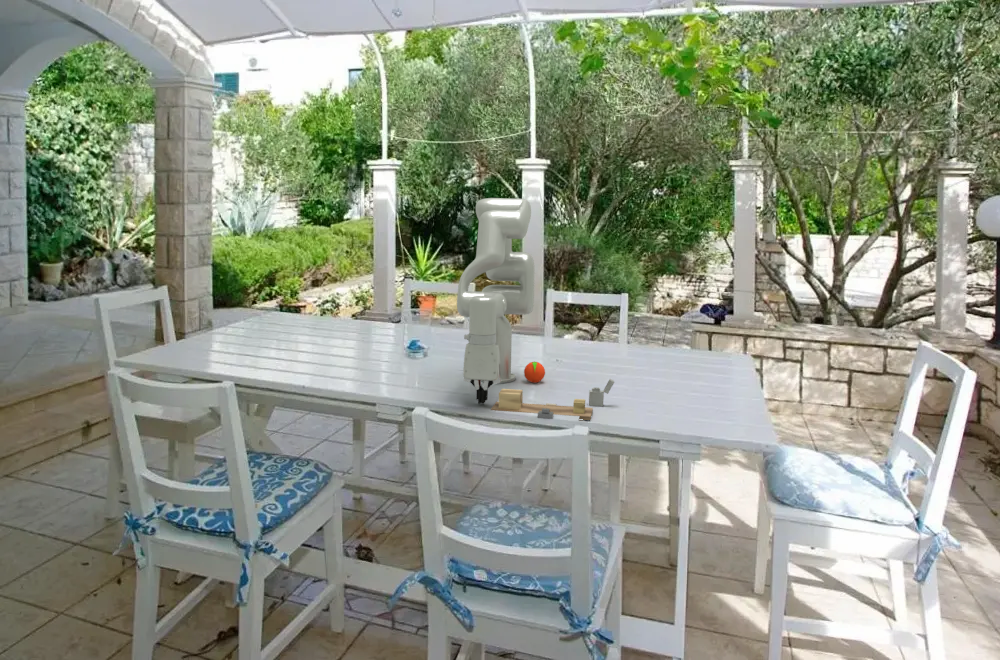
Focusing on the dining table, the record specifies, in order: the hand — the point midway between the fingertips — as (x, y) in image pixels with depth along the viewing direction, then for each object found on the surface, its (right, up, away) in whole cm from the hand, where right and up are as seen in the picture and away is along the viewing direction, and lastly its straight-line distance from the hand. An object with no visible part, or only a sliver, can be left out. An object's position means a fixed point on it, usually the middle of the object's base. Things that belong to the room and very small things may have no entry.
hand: (481, 402), depth 213 cm
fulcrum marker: (+18, -4, -10) cm, 21 cm away
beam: (+17, -3, -3) cm, 18 cm away
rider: (+8, -1, -1) cm, 8 cm away
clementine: (+16, +3, +31) cm, 36 cm away
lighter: (+35, -2, +6) cm, 36 cm away
